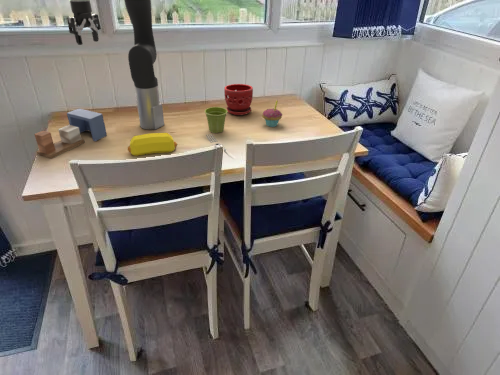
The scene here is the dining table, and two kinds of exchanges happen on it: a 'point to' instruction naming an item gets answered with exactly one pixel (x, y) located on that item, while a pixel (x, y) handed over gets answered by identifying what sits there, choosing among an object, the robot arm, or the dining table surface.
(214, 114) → the plant pot
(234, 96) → the plant pot
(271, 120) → the cupcake
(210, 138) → the fork
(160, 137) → the hot dog
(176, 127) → the dining table surface
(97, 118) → the tunnel
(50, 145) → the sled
